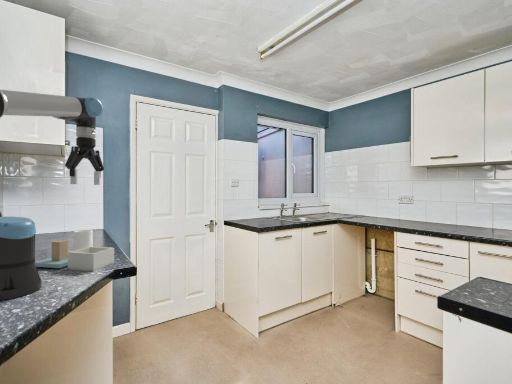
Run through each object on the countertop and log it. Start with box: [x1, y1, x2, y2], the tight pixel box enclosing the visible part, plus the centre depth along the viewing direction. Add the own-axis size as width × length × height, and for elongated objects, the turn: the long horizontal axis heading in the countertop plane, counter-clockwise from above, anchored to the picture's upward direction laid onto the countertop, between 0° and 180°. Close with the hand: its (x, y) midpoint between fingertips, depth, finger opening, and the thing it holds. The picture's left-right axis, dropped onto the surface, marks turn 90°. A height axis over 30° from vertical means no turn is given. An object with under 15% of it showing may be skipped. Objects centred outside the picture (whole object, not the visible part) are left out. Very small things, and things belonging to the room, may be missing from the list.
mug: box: [65, 229, 94, 251], centre depth 139 cm, size 12×8×12 cm
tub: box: [67, 246, 115, 272], centre depth 118 cm, size 12×12×7 cm
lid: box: [35, 239, 69, 269], centre depth 120 cm, size 13×13×10 cm
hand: (86, 184), depth 127 cm, fingers open, 13 cm apart
